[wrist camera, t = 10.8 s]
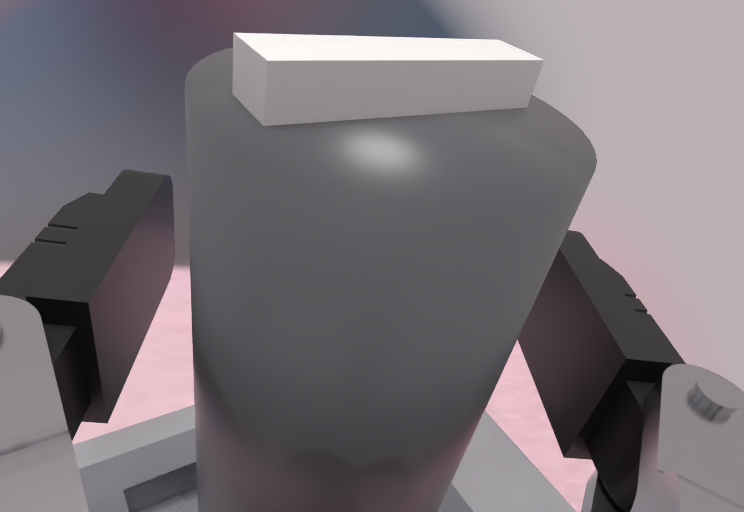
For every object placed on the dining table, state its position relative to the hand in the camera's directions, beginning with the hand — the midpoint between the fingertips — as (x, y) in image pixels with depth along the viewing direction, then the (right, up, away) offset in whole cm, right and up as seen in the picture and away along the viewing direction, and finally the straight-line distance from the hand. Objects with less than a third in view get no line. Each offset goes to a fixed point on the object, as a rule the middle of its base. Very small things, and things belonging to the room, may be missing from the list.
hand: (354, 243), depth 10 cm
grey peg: (-1, -8, +3) cm, 9 cm away
